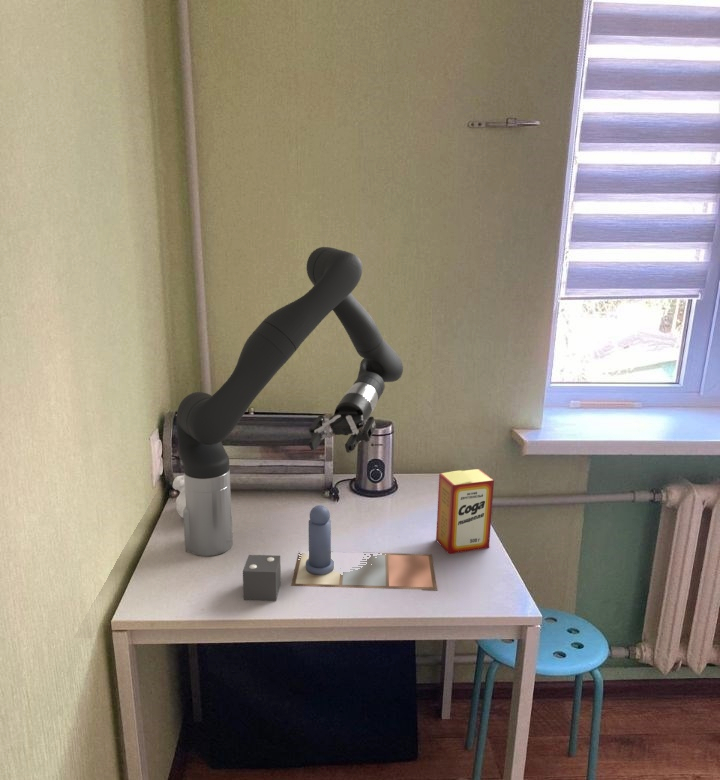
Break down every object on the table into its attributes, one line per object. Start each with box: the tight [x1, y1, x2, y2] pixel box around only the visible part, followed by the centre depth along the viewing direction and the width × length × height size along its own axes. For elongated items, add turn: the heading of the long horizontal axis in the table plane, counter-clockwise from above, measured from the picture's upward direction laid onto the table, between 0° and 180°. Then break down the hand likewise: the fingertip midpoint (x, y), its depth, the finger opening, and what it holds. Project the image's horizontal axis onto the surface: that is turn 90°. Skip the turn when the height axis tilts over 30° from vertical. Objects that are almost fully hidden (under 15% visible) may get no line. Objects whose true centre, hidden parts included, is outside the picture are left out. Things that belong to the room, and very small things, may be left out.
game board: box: [290, 552, 438, 591], centre depth 133 cm, size 28×14×1 cm, turn 89°
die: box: [242, 554, 282, 602], centre depth 124 cm, size 6×6×6 cm
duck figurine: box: [172, 474, 186, 519], centre depth 154 cm, size 12×8×11 cm
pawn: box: [306, 504, 334, 575], centre depth 132 cm, size 6×6×14 cm
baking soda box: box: [435, 468, 495, 555], centre depth 142 cm, size 10×6×16 cm
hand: (329, 448), depth 141 cm, fingers open, 8 cm apart
